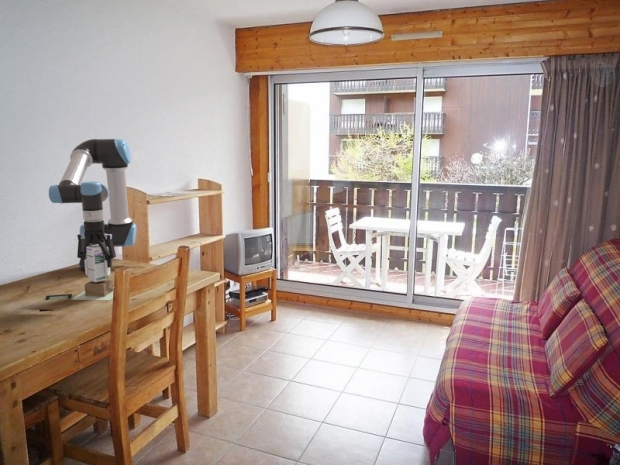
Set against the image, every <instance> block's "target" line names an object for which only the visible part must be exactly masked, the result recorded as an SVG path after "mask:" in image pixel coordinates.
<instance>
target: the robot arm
mask: <svg viewBox="0 0 620 465" xmlns="http://www.w3.org/2000/svg"><path fill="white" fill-rule="evenodd" d="M131 157H132V156H131V151H130V147H129V145H128V142H127V141H126V140H125V139H120V138H100V139H97V138H92V139H88V140H85V141H82V142H81V143H80V144H78V145H76V146H75V148H74V149H73V150H72V151H71V153H70V157H69V158H70V161H69V163H68V165H67V167H66V168H65V171H64V173H63V175H62V177H61V180H60V182H59V183H58V184H53V185H50V187H49V188H48V198H49V201H51V203H53V204H81V206H82V217H83V218H82V219H83V220H84V221H83V224H82V225H80V227H79V234H77V235H76V236H77V240H78V241H77V255H76V256H77V258H78V259H79V263H78V269H79V270H80V271H83V272H85V276H88V267H87V257H86V253H87V250H86V247H87V246H92V245H97V244H98V245H99V246H100V247H101V249H102V251H103V253H104V255H105V257H106V260H105V272H106V276H108V277H109V276H110V275H111V267H113V262H112V259H115V258H116V257H117V254H116V250H115V248H116V247H118V248H119V247H132V246H134V245H135V242H136V238H137V230H138V229H137V224H136V223H134V220H133V218H131V216H130V213H129V202H128V190H127V180H126V179H127V178H126V169H128V167H129V164H130V163H131V162H132V158H131ZM92 164H93V165H94V164H97V165H99V164H101V166H102V167H101V168H102V169H103V170H104V171H105V174H106V181H107V182H106V183H107V185H104V184H103V183H101V182H100V181H83V179H84V177H85V174H86V172H87V169H88V168H89V167H91V165H92ZM82 181H83V182H82ZM107 199H108V201H109V204H108V205H109V213H110V218H109V220H107V223H106V224H105V220H104V218H105V216H104V208H103V206H104V205H103V202H105V201H106V200H107Z"/></svg>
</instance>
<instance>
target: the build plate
mask: <svg viewBox="0 0 620 465" xmlns="http://www.w3.org/2000/svg"><path fill="white" fill-rule="evenodd" d="M112 299H114V298H113V291H112V292H111V293H109V294H108V295H106V296H105V297H94V296H85V290H84V291H82V292H80V293H78V294H77V295H75V296H74V297H71V300H76V301H77V300H81V301H82V300H84V301H111V300H112Z"/></svg>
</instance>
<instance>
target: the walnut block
mask: <svg viewBox="0 0 620 465" xmlns="http://www.w3.org/2000/svg"><path fill="white" fill-rule="evenodd" d="M113 280H114V279H112V278H109V279H108V280H103V281H99V282H93V281H90V280H89V281H88V282H87V283H86V282H85V284H84V291H85V296H94V297H105V296H106V295H108V294H109V293H111V292H112V291H113V288H114V281H113Z"/></svg>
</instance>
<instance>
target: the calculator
mask: <svg viewBox="0 0 620 465" xmlns="http://www.w3.org/2000/svg"><path fill="white" fill-rule="evenodd" d="M72 298H73V294H72V293H68V294H67V293H66V294H54V295H53V294H52V295H50V294H49V295H46V296H45V301H51V300H52V301H53V300H67V299H72ZM38 311H39V312H49V311H54V309H41V308H40V309H39V310H38Z"/></svg>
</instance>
